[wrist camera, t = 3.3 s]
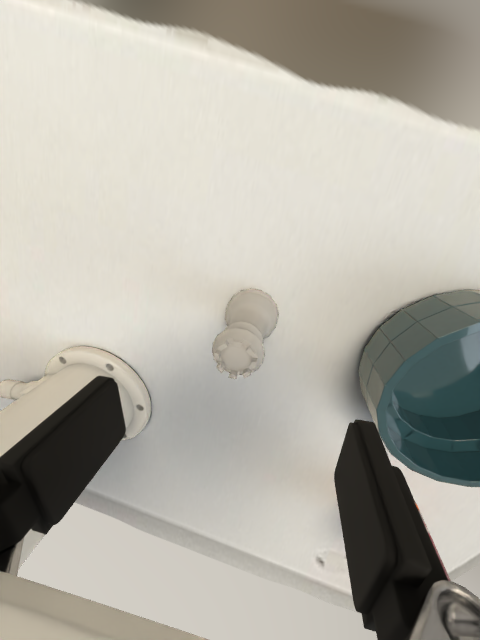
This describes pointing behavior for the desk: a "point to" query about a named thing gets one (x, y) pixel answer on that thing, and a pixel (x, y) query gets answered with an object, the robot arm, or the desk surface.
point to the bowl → (429, 386)
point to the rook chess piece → (245, 332)
